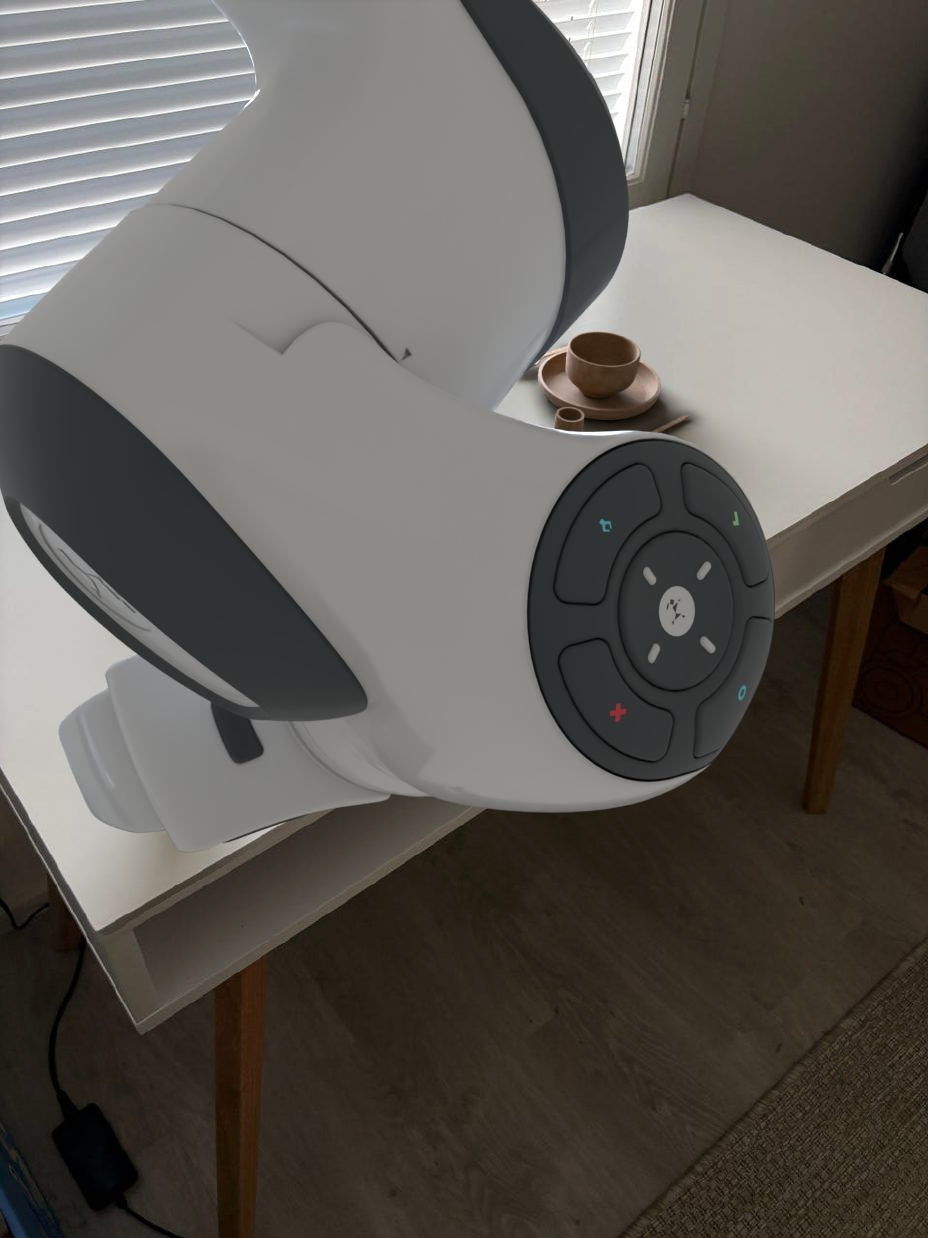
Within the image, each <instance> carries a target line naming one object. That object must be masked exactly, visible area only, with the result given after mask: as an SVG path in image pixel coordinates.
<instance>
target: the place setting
mask: <svg viewBox="0 0 928 1238" xmlns="http://www.w3.org/2000/svg"><path fill="white" fill-rule="evenodd" d="M641 356H642V352H641V349H640V347H639V346H638V345H637V343H636V342H634V341H633V340H631V339H630V338H628V337H626V336H623V335H621V334H617V333H614V332H609V331H587V332H582V333H579V334H577V335H575V336H573V337H572V338H571V339H570V340H569V341H568V343H567V346H562V347H560V348H556V349H554V350H551V351H547V352H546V353H545V354H544V356H543V357H542V358H541V359H540V360H539V361H538V362H537V363H536V364H535V365H533V366H532V367H531V368H535V367H537V366H538V365H539V364H540V363H541V364H540V365H539V368H538V373H537V381H538V385H539V389H540V390H541V392H542V393H543V395H544V396H545V398H546V399H547V400H548V401H549V402H551V403H552V404H553V405H554V406H556V407H558V409H557V410H556V413H555V416H554V422H553V423H554V424H553V429H558V430H564V431H573V432H583V429H584V425H585V418H586V419H592V420H599V421H616V420H617V421H618V420H624V419H629V418H632V417H635V416H638V415H640V414H642V413H645V412H646V411H648V410H649V409H650V408H651V407H653V406H654V404H655V403H656V402H657V400H658V399H659V396H660V393H661V390H662V381H661V379H660V376H659V375H658V373H657V372H656V371H655V369H654V368H652V366H650V365H649V364H647V363H646V362H645V361H643V360H641ZM543 359H544V360H543ZM542 360H543V361H542ZM541 361H542V362H541ZM531 368H530V369H531ZM688 418H690V415H689V414H685V415H683V416H681V417H678V418H676V419H673V420H672V421H670V422H668V423H666V424H663V425H662V426H660V427H659V428H656V429H654V430H652V431H651V432H654V433H662V432H664V431H666V430H668V429H671V428H672V427H675V426H676V425H678V424H680V423H682V422H684V421H685V420H687V419H688Z"/></svg>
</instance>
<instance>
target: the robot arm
mask: <svg viewBox="0 0 928 1238" xmlns="http://www.w3.org/2000/svg"><path fill="white" fill-rule="evenodd" d="M210 2H211V3H212V4H213V5H214V6H215V8H216V9H217V10H218V11H219V12H220V13H221V15H223V17H225V19H226V21H228V22H229V23H230V25H232V27H233V28H234V30H235V31H236V32H237V33H238V34H239V36H240V38H241V39H242V41H243V43H244V44H245V46H246V48H247V51H248V53H249V55H250V58H251V62H252V66H253V70H254V76H255V93H254V96H253V98H252V99H251V100H250V101H249V102H248V103H247V104H246V105H245V106H244V107H243V108H242V109H241V110H240V111H238V113H237V114H236V115H235V116H234V117H233V118H232V119H230V121H229V122H228V123H226V125H225V126H224V127H223V128H222V129H221V130H220V131H219V132H218V133H216V134H215V136H213V137H212V139H210V140H209V141H208V142H207V143H206V144H205V145H204V146H203V147H202V148H201V149H200V150H199V151H198V152H197V153H196V154H195V155H194V156H193V157H192V158H191V159H190V160H189V161H188V162H187V163H186V164H185V165H184V166H182V168H181V169H179V170H178V172H177V173H176V174H175V175H173V176H172V178H170V179H169V180H168V181H167V182H166V183H165V184H164V185H163V186H162V187H161V188H160V189H159V190H158V191H157V192H156V193H155V194H154V195H153V196H152V197H151V198H150V199H149V200H148V201H147V202H145V204H143V206H140V207H138V208H136V209H133V210H130V211H129V213H127V215H126V216H125V217H123V218H122V220H120V221H119V223H117V224H116V225H115V226H114V227H113V228H112V229H111V231H110V232H108V233H107V234H106V235H105V236H104V237H103V238H102V239H101V240H100V241H99V242H98V243H97V244H96V245H95V246H94V247H93V248H92V249H90V251H89V252H88V253H86V254H85V255H84V256H82V258H81V259H80V260H79V261H77V262H76V263H75V265H73V267H71V268H70V269H69V270H68V271H67V272H66V274H65V275H63V277H61V279H60V280H58V281H57V282H56V283H55V285H54V286H53V287H51V289H50V290H49V291H48V292H47V293H46V294H45V295H44V296H43V297H42V298H41V299H40V300H39V301H37V302H36V304H35V305H33V307H31V309H30V310H29V311H28V312H27V313H26V314H25V315H24V316H23V317H22V318H21V319H20V320H19V321H18V322H17V323H16V324H15V325H14V327H12V328H11V330H9V332H8V333H7V334H6V335H5V337H3V339H2V340H1V341H0V494H1V497H2V500H3V503H4V506H5V509H6V511H7V514H8V516H9V518H10V520H11V522H12V524H13V525H14V527H15V529H16V530H17V532H18V533H19V535H20V537H21V539H22V540H23V541H24V543H25V544H26V546H27V547H28V549H29V550H30V551H31V553H32V554H33V556H35V558H36V559H37V561H38V562H39V563H40V564H41V565H42V567H43V568H44V569H45V571H47V573H48V574H49V575H50V576H51V577H52V579H53V580H54V581H55V582H56V583H57V584H58V585H59V587H60V588H62V589H63V591H65V593H67V595H69V596H70V598H71V599H73V601H74V602H76V603H77V604H78V605H79V606H80V607H81V608H82V609H83V610H84V611H85V612H86V613H87V614H89V616H91V617H92V618H93V619H94V620H95V621H96V622H97V623H98V624H100V625H101V626H102V628H104V629H105V630H106V631H108V633H110V634H111V635H112V636H113V637H115V638H116V639H117V640H119V642H121V643H122V644H123V645H125V646H126V647H127V648H128V649H130V650H131V651H132V652H133V653H135V654H133V655H131V656H128V657H125V658H123V659H120V660H118V661H115V662H114V663H112V664H111V665H110V666H109V667H108V668H107V669H106V671H105V673H104V677H105V682H106V685H107V688H106V689H103V690H102V691H100V692H98V693H96V694H94V695H93V696H91V697H90V698H88V699H87V700H85V701H84V702H82V703H81V704H79V705H78V706H77V707H76V708H75V709H73V710H72V711H71V712H70V713H69V714H67V716H66V717H65V718H64V719H63V720H62V721H61V723H60V724H59V727H58V738H59V741H60V744H61V746H62V749H63V752H64V755H65V757H66V760H67V763H68V766H69V767H70V770H71V773H72V775H73V778H74V779H75V783H76V784H77V786H78V789H79V791H80V793H81V795H82V798H83V800H84V802H85V804H86V807H87V808H88V810H89V812H90V813H91V814H92V815H93V817H94V818H96V819H97V820H98V821H99V822H101V823H103V824H106V825H107V826H109V827H112V828H115V829H118V830H121V831H124V832H128V833H133V834H134V833H135V834H149V833H151V834H152V833H157V832H163V831H165V833H166V835H167V837H168V838H169V840H170V841H171V843H172V845H173V846H174V848H175V849H176V850H177V851H178V852H181V853H187V854H188V853H198V852H202V851H206V850H208V849H211V848H212V847H215V846H218V845H221V844H226V843H232V842H234V841H236V840H239V839H242V838H245V837H248V836H250V835H252V834H256V833H258V832H261V831H264V830H267V829H269V828H273V827H276V826H278V825H282V824H286V823H288V822H291V821H295V820H297V819H300V818H303V817H306V816H308V815H310V814H313V813H317V812H322V811H326V810H332V809H336V808H337V809H338V808H343V807H352V806H358V805H365V804H366V805H367V804H373V803H380V802H384V801H387V800H389V799H390V798H391V796H392V795H395V796H404V797H411V798H412V797H413V798H418V797H419V798H425V797H430V798H431V797H433V798H436V799H437V800H441V801H445V802H449V803H453V804H457V805H461V806H467V807H473V808H474V807H475V808H481V809H489V810H490V809H491V810H498V811H508V812H509V811H510V812H521V813H522V812H523V813H578V812H592V811H601V810H609V809H614V808H621V807H626V806H631V805H634V804H638V803H641V802H645V801H648V800H650V799H653V798H656V797H658V796H662V795H663V794H665V793H668V792H670V791H672V790H675V789H676V788H678V787H680V786H682V785H684V784H685V783H687V782H689V781H690V780H692V779H693V778H694V777H696V776H697V775H698V774H700V773H702V772H703V771H705V770H706V769H707V768H708V767H709V766H711V765H712V763H714V761H716V760H717V758H718V757H719V756H720V755H721V754H722V752H723V751H724V750H725V748H727V745H728V744H729V742H730V741H731V739H732V738H733V736H734V735H735V733H736V732H737V730H738V729H739V727H740V725H741V723H742V721H743V720H744V718H745V716H746V714H747V713H748V710H749V707H750V706H751V704H752V701H753V700H754V697H755V695H756V693H757V691H758V688H759V686H760V683H761V681H762V679H763V676H764V674H765V670H766V667H767V663H768V660H769V655H770V651H771V647H772V642H773V636H774V630H775V615H776V591H775V589H776V588H775V578H774V571H773V566H772V565H773V564H772V560H771V554H770V551H769V546H768V542H767V540H766V535H765V532H764V529H763V527H762V525H761V522H760V519H759V517H758V515H757V512H756V511H755V508H754V506H753V504H752V502H751V499H749V497H748V495H747V494H746V492H745V490H744V489H743V488H742V486H741V485H740V483H739V482H738V480H737V479H736V478H735V476H733V475H732V473H731V472H730V471H729V470H728V469H727V468H726V467H725V466H724V465H723V464H722V463H721V462H720V461H718V460H717V459H716V458H715V457H714V456H713V455H712V454H710V453H708V452H707V451H706V450H704V449H703V448H701V447H699V446H698V445H695V444H694V443H692V442H690V441H688V440H685V439H682V438H680V437H677V436H674V435H671V434H666V433H662V432H660V433H654V432H652V431H643V430H642V431H641V430H613V431H582V432H573V431H564V430H558V429H554V427H553V428H552V427H547V426H541V425H538V424H534V423H530V422H527V421H524V420H521V419H517V418H514V417H511V416H508V415H506V414H502V413H499V412H495V411H496V410H497V408H498V407H499V406H500V404H501V403H502V401H503V400H504V399H505V398H506V396H507V395H508V394H509V393H510V391H511V390H512V388H514V386H515V385H516V383H517V382H518V381H519V379H520V378H521V377H522V376H523V374H525V373H526V372H528V371H529V370H531V367H532V366H533V365H535V364H536V363H537V362H538V361H539V360H540V359H541V358H542V357H543V356H544V354H546V353H548V352H549V350H550V349H551V348H552V347H553V346H554V345H555V344H556V343H557V342H558V341H559V340H560V339H561V338H562V337H563V335H564V334H565V333H566V332H567V331H568V330H569V329H570V328H571V327H572V326H573V324H574V323H576V321H577V320H578V319H579V318H580V317H582V315H583V314H584V313H585V312H586V310H588V308H590V306H591V305H593V303H594V302H595V301H596V300H597V298H599V296H600V295H601V294H602V293H603V292H604V291H605V290H606V289H607V287H608V286H609V284H610V283H611V282H612V279H613V278H614V276H615V274H616V272H617V270H618V268H619V266H620V263H621V260H622V257H623V254H624V250H625V247H626V244H627V243H626V242H627V237H628V233H629V221H630V198H629V197H630V196H629V186H628V185H629V184H628V178H627V172H626V167H625V162H624V157H623V153H622V147H621V143H620V140H619V137H618V136H619V135H618V133H617V130H616V126H615V123H614V119H613V117H612V115H611V112H610V109H609V106H608V104H607V102H606V100H605V97H604V95H603V93H602V91H601V89H600V87H599V85H598V83H597V81H596V78H595V77H594V75H593V74H592V72H591V70H590V68H589V67H588V66H587V65H586V63H585V61H584V59H583V58H582V57H581V56H580V54H579V53H578V51H577V50H576V49H575V47H574V46H573V45H572V44H571V42H570V41H569V40H568V39H567V37H566V36H565V35H564V33H563V32H562V31H561V30H560V29H559V27H557V25H556V24H555V23H554V22H553V21H552V20H551V19H550V17H549V16H548V15H547V14H546V13H545V12H544V10H542V9H541V8H540V6H539V5H538V4H537V3H536V2H534V0H210ZM532 368H533V367H532Z"/></svg>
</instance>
